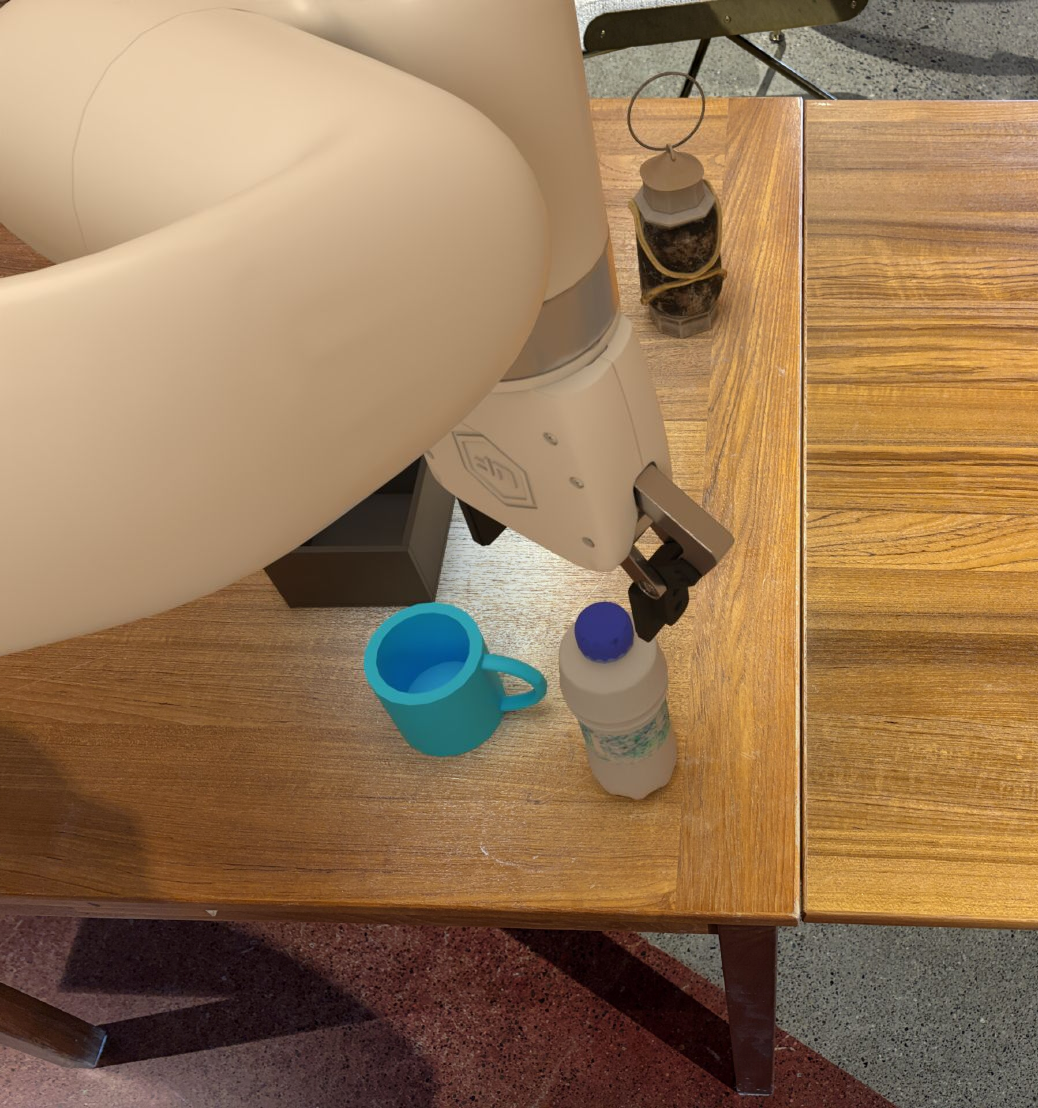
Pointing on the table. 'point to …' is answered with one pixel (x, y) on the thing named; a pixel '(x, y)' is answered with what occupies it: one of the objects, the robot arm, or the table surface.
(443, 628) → the mug
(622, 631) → the bottle
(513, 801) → the table surface
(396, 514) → the bin
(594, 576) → the table surface
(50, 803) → the table surface
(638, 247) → the lantern
